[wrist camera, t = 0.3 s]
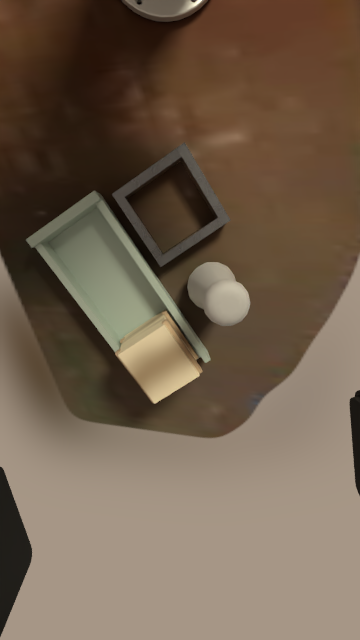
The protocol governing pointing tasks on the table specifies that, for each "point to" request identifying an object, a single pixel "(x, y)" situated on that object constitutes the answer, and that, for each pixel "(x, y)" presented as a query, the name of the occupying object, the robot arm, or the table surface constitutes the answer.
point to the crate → (159, 357)
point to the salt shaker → (218, 293)
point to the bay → (106, 272)
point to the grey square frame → (199, 181)
